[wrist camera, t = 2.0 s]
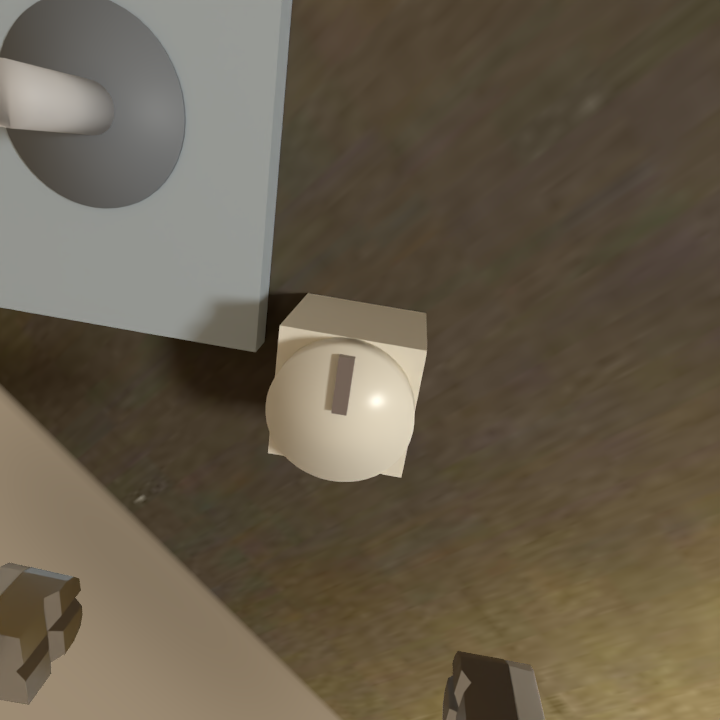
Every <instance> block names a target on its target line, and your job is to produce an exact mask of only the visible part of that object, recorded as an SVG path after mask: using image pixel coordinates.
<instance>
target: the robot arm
mask: <svg viewBox="0 0 720 720" xmlns="http://www.w3.org/2000/svg"><path fill="white" fill-rule="evenodd" d="M80 591H81V589H80V581H79V578H76V577H72V576H68V575H63V574H59V573H54V572H50V571H45V570H41V569H36V568H32V567H27V566H22V565H17V564H13V563H7V564H5V565H3V566H1V567H0V700H5V701H11V702H17V703H22V704H30V702H31V701H32V699H33V698H34V697H35V695H36V694H37V692H38V691H39V690H40V688H41V687H42V686H43V684H44V683H45V681H46V680H47V679H48V677H49V676H50V674H51V662H52V661H54V660H55V659H57V658H59V657H60V656H62V655H63V654H65V653H66V652H67V650H68V649H69V647H70V646H71V644H72V643H73V641H74V639H75V637H76V635H77V633H78V630H79V628H80V625H81V620H82V606H81V604H80V603H79V602H78V601H77V599H76V598H75V597H76V596H77V595H78V593H79V592H80ZM452 664H453V676H451V677H449V678H448V680H447V684H446V688H445V693H444V701H443V720H545V718H544V713H543V709H542V705H541V700H540V696H539V692H538V687H537V683H536V679H535V674H534V670H533V669H532V667H531V665H528V664H523V663H518V662H512V661H507V660H504V659H499V658H493V657H488V656H482V655H477V654H471V653H466V652H460V651H458V652H457V653H456V654H455V657H454V660H453V663H452Z"/></svg>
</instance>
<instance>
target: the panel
mask: <svg viewBox="0 0 720 720" xmlns="http://www.w3.org/2000/svg"><path fill="white" fill-rule="evenodd" d="M291 9H292V0H0V307H1V308H7V309H13V310H18V311H24V312H30V313H35V314H41V315H47V316H52V317H58V318H64V319H69V320H75V321H81V322H86V323H92V324H98V325H103V326H109V327H115V328H120V329H126V330H132V331H137V332H143V333H149V334H154V335H160V336H166V337H171V338H177V339H183V340H188V341H194V342H200V343H205V344H211V345H217V346H222V347H228V348H234V349H239V350H245V351H251V352H256V351H257V350H258V349H259V348H260V347H261V346H262V344H263V343H264V342H265V331H266V319H267V306H268V294H269V281H270V269H271V257H272V244H273V232H274V220H275V207H276V195H277V182H278V170H279V158H280V145H281V133H282V120H283V108H284V96H285V83H286V71H287V59H288V46H289V34H290V21H291Z"/></svg>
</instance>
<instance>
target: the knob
mask: <svg viewBox="0 0 720 720" xmlns="http://www.w3.org/2000/svg"><path fill="white" fill-rule="evenodd" d="M426 354H427V326H426V313H422V312H417V311H411V310H405V309H399V308H393V307H387V306H381V305H375V304H369V303H363V302H357V301H352V300H346V299H340V298H334V297H328V296H322V295H316V294H310V293H308V294H307V295H306V296H305V297H304V298H303V299H302V300H301V302H300V303H299V304H298V305H297V306H296V307H295V308H294V310H293V311H292V312H291V313H290V314H289V315H288V316H287V318H286V319H285V320H284V321H283V322H282V323H281V324H280V327H279V338H278V349H277V360H276V371H275V378H274V380H273V382H272V384H271V386H270V388H269V391H268V394H267V399H266V421H267V425H268V429H269V432H270V437H269V448H268V453H272V454H277V455H282V456H285V457H286V458H287V459H288V460H289V461H290V462H292V463H293V464H294V465H295V466H297V467H298V468H300V469H301V470H303V471H305V472H307V473H309V474H311V475H313V476H316V477H319V478H322V479H326V480H330V481H337V482H352V481H360V480H364V479H368V478H371V477H374V476H376V475H378V474H384V475H390V476H395V477H402V472H403V467H404V462H405V457H406V452H407V447H408V445H409V442H410V440H411V437H412V433H413V428H414V414H415V408H416V403H417V398H418V393H419V388H420V384H421V379H422V374H423V369H424V364H425V359H426Z"/></svg>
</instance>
